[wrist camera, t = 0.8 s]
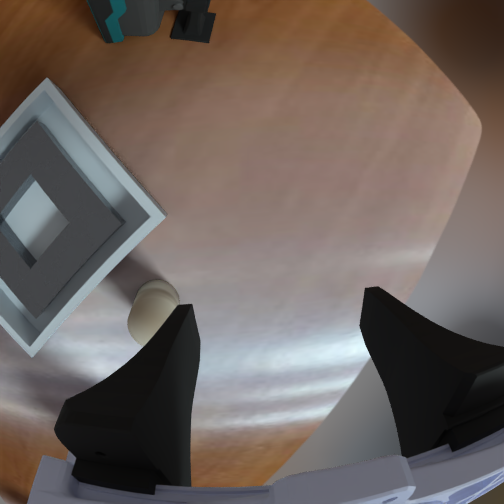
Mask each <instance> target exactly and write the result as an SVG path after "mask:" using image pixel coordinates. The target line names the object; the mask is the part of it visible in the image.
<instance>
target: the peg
mask: <svg viewBox="0 0 504 504" xmlns="http://www.w3.org/2000/svg"><path fill="white" fill-rule="evenodd" d="M177 305H180V300H179V295H178V293H177V291H176V289H175V288H174V287H173V286H172V285H171V284H169V283H167V282H165V281H162V280H152V281H149V282H146V283H145V284H143V285H142V286H141V287H140V289H139V290H138V292H137V295H136V298H135V300H134V303H133V306H132V308H131V311H130V314H129V317H128V329H129V332H130V334H131V336H132V337H133V339H134V340H135V341H136V342H137V343H139V344H140V345H142V346H145V344H146V343H147V342H148V341H149V340H150V339H151V338H152V337H153V336H154V334H155V333H156V332H157V331H158V329H159V328H160V327H161V326H162V324H163V323H164V322H165V321H166V319H167V318H168V317H169V315H170V314H171V313H172V311H173V310H174V309H175V308H176V306H177Z"/></svg>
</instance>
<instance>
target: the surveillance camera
mask: <svg viewBox="0 0 504 504" xmlns="http://www.w3.org/2000/svg"><path fill="white" fill-rule="evenodd" d="M87 3H88V5H89V7H90V10H91V12H92V14H93V16H94V19H95V21H96V23H97V25H98V28H99V30H100V32H101V34H102V36H103V39H104V41H105V42H106V43H115V42H122V41H123V39H124V36H149V35H151V34H154V33H155V32H156V31H157V30H158V28H159V27H160V24H161V20H162V17H163V14H164V11H165V10H179V12H178V16H177V19H176V22H175V25H174V29H173V32H172V36H171V39H180V40H189V41H197V42H204V43H209V40H210V36H211V32H212V28H213V24H214V20H215V16H216V14H215V13H208V12H207V11H208V8H209V4H210V0H87Z"/></svg>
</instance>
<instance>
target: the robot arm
mask: <svg viewBox="0 0 504 504" xmlns="http://www.w3.org/2000/svg"><path fill="white" fill-rule="evenodd" d="M359 326H360V329H361V332H362V336H363V339H364V342H365V345H366V347H367V349H368V351H369V354H370V356H371V358H372V360H373V362H374V364H375V366H376V368H377V370H378V373H379V375H380V377H381V379H382V381H383V383H384V386H385V389H386V391H387V395H388V398H389V401H390V404H391V408H392V412H393V415H394V419H395V423H396V427H397V432H398V437H399V442H400V447H401V454H402V456H399V455H389V456H383V457H378V458H374V459H370V460H366V461H362V462H358V463H353V464H349V465H344V466H339V467H333V468H328V469H322V470H316V471H309V472H303V473H299V474H294V475H289V476H286V477H284V478H282V479H280V480H277V481H276V482H275V483H273V485H266V486H251V487H191V463H190V438H191V412H192V404H193V398H194V392H195V386H196V380H197V375H198V369H199V363H200V337H199V333H198V328H197V324H196V319H195V315H194V310H193V305H192V304H183V305H177V306H176V308H175V309H174V310H173V311H172V313H171V314H170V315H169V317H168V318H167V319H166V321H165V322H164V323H163V324H162V326H161V327H160V328H159V329H158V331H157V332H156V333H155V334H154V336H153V337H152V338H151V339H150V340H149V341H148V342H147V343H146V344H145V346H144V347H143V348H142V349H141V350H140V351H139V352H138V353H137V354H136V355H135V356H134V357H133V358H131V359H130V360H129V361H128V362H127V363H126V364H125V365H123V366H122V367H121V368H119V369H118V370H117V371H115V372H114V373H113V374H111V375H110V376H109V377H107V378H106V379H104V380H103V381H101V382H100V383H98V384H96V385H95V386H93V387H91V388H89V389H87V390H86V391H84V392H82V393H80V394H77V395H75V396H73V397H71V398H69V399H67V400H66V401H65V403H64V405H63V407H62V409H61V412H60V414H59V417H58V419H57V422H56V424H55V428H54V431H55V434H56V436H57V437H58V439H59V440H60V441H61V443H62V444H63V445H64V446H65V447H66V448H67V449H68V450H69V452H68V455H67V459H66V461H65V460H61V459H57V458H53V457H50V456H46V455H43V456H42V459H41V462H40V465H39V467H38V470H37V473H36V476H35V479H34V482H33V486H32V489H31V492H30V495H29V498H28V502H27V504H467V503H469V502H471V501H473V500H474V499H476V498H478V497H480V496H481V495H483V494H485V493H486V492H488V491H490V490H491V489H493V488H495V487H496V486H498V485H499V484H501V483H502V482H504V347H501V346H496V345H491V344H486V343H483V342H480V341H476V340H473V339H470V338H467V337H465V336H462V335H459V334H457V333H454V332H452V331H450V330H448V329H446V328H444V327H442V326H439V325H438V324H436V323H434V322H432V321H430V320H429V319H427V318H425V317H423V316H422V315H420V314H419V313H417V312H415V311H414V310H412V309H411V308H409V307H408V306H406V305H405V304H403V303H402V302H401V301H399V300H398V299H396V298H395V297H393V296H392V295H390V294H389V293H388V292H386V291H385V290H383V289H381V288H380V287H378V286H377V287H369V288H365V291H364V299H363V306H362V312H361V319H360V325H359Z"/></svg>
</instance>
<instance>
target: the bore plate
mask: <svg viewBox="0 0 504 504" xmlns="http://www.w3.org/2000/svg"><path fill="white" fill-rule="evenodd" d="M35 180H36V182H37V183H38V184H39V186H40V187H41V188H42V189H43V191H44V192H45V193H46V195H47V196H48V197H49V198H50V200H51V201H52V202H53V203H54V205H55V206H56V207H57V208H58V210H59V211H60V212H61V213H62V214H63V216H64V217H65V218H66V219H67V220H68V222H69V224H68V225H67V226H66V227H65V228H64V229H63V230H62V232H61V233H60V234H59V235H58V236H57V237H56V238H55V240H54V241H53V242H52V243H51V244H50V246H49V247H48V248H47V249H46V250H45V252H44V253H43V254H42V255H41V257H40V258H39V259H38V260H36V259H35V258H34V257H33V256H32V254H31V253H30V252H29V251H28V249H27V248H26V247H25V246H24V244H23V243H22V242H21V241H20V239H19V238H18V237H17V235H16V234H15V233H14V232H13V230H12V229H11V228H10V226H9V225H8V223H7V222H6V221H5V219H6V217H7V216H8V215H9V213H10V212H11V211H12V209H13V208H14V207H15V205H16V204H17V203H18V201H19V200H20V199H21V198H22V196H23V195H24V194H25V193H26V191H27V190H28V189H29V188H30V186H31V185H32V184H33V183H34V182H35ZM125 222H126V221H125V220H124V219H123V218H122V217H121V216H120V215H119V213H118V212H117V211H116V210H115V209H114V208H113V207H112V206H111V204H110V203H109V202H108V201H107V200H106V199H105V197H104V196H103V195H102V194H101V193H100V192H99V190H98V189H97V188H96V187H95V186H94V185H93V183H92V182H91V181H90V180H89V179H88V177H87V176H86V175H85V174H84V173H83V171H82V170H81V169H80V168H79V167H78V165H77V164H76V163H75V162H74V160H73V159H72V158H71V157H70V155H69V154H68V153H67V152H66V150H65V149H64V148H63V147H62V145H61V144H60V143H59V142H58V140H57V139H56V138H55V137H54V135H53V134H52V133H51V131H50V130H49V129H48V127H47V126H46V125H45V124H43V123H41V122H39V121H36V122H35V123H34V124H33V125H32V127H31V128H30V129H29V130H28V131H27V132H26V133H25V134H24V136H23V137H22V138H21V139H20V140H19V141H18V143H17V144H16V145H15V146H14V147H13V149H12V150H11V151H10V152H9V153H8V155H7V156H6V157H5V159H4V160H3V161H2V162H1V164H0V278H1V279H2V280H3V281H4V283H5V284H6V285H7V286H8V287H9V289H10V290H11V291H12V292H13V293H14V295H15V296H16V297H17V298H18V299H19V301H20V302H21V303H22V304H23V305H24V306H25V307H26V309H27V310H28V311H29V312H30V313H31V314H32V315H33V316H34V317H35V318H36V319H37V318H38V317H39V316H40V315H41V314H42V313H43V312H44V311H45V309H46V308H47V307H48V306H49V305H50V303H51V302H52V301H53V300H54V299H55V297H56V296H57V295H58V294H59V293H60V292H61V290H62V289H63V288H64V287H65V286H66V285H67V284H68V282H69V281H70V280H71V279H72V278H73V277H74V276H75V275H76V273H77V272H78V271H79V270H80V269H81V268H82V267H83V266H84V265H85V264H86V262H87V261H88V260H89V259H90V258H91V257H92V256H93V255H94V254H95V253H96V252H97V251H98V250H99V249H100V248H101V247H102V245H103V244H104V243H105V242H106V241H107V240H108V239H109V238H110V237H111V236H112V235H113V234H114V233H115V232H116V231H117V230H118V229H119V228H120V227H121V226H122V225H123V224H124V223H125Z"/></svg>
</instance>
